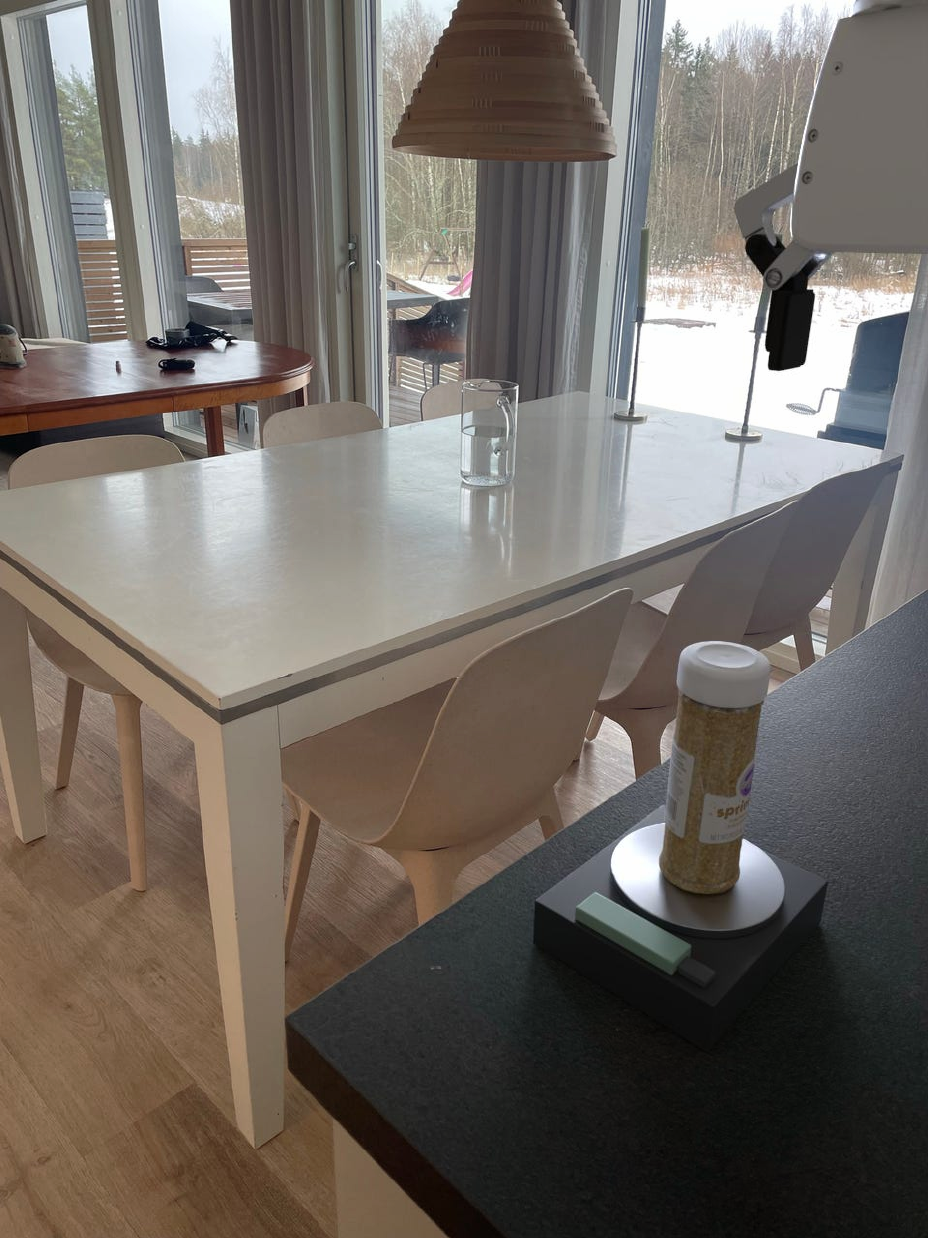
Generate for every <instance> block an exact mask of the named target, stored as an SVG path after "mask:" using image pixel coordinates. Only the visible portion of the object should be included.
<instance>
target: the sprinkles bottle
mask: <svg viewBox="0 0 928 1238" xmlns="http://www.w3.org/2000/svg"><path fill="white" fill-rule="evenodd" d="M771 667H772V665H771V662H770V660H769V659H768V658H767V657H766V656H765V654H763V653H761V651H759V650H756V649H754V648H752V647H750V646H747V645H743V644H740V643H735V642H729V641H718V640H716V641H715V640H710V641H700V642H696V643H693V644H690V645H688V646H686V647H684V649H682V651H681V653H680V654H679V659H678V667H677V673H676V674H677V675H676V686H677V688H678V691H677V695H678V700H677V701H678V702H677V709H676V718H675V727H674V732H673V736H672V741H671V752H670V760H669V761H670V762H669V770H668V778H667V779H668V780H667V787H666V798H665V805H664V806H665V832H664V841H663V850H662V851H661V853H660V857H659V867H660V869H661V871H662V873H663V875H664V876H665V877H666V878H667V879H668V880H669V881H670V882H671V883H673V884H674V885H676V886H678V887H680V888H682V889H683V890H686V891H691V892H694V893H702V894H714V893H721V892H724V891H726V890H727V889H730V888H731V887H733V886H734V885H735V884H736V883H737V882H738V880H739V876H740V867H739V862H740V852H741V847H742V840H743V839H744V833H745V831H746V828H747V827H746V826H747V822H748V821H747V820H748V814H749V806H750V798H751V790H752V786H753V785H752V784H753V777H754V770H755V763H756V760H755V759H756V758H755V754H756V750H757V742H758V733H759V725H760V720H761V713H762V707H763V704H764V702H765V699H767V696H768V692H769V685H770V677H771Z"/></svg>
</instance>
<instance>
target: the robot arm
mask: <svg viewBox="0 0 928 1238" xmlns="http://www.w3.org/2000/svg"><path fill="white" fill-rule="evenodd" d="M805 124H806V125H805V128H804V131H803V132H804V133H803V138H802V142H801V147H800V152H799V157H798V162H797V163H796V164H794V165H792V166H790V167H788V168H787V169H786V170H784V171H782V172H781V173H779V174H777V175H775V176H774V177H771V178H770V179H769V180H767V181H766V182H764V183H762V184H761V185H759V186H756V187H755V188H753V189H752V190H751V191H748V192H747V193H745V194H744V195H741V196H740V197H739V198H738V199H737V200H736V201H735V203H734V206H733V209H734V214H735V218H736V220H737V224H738V226H739V229H740V233H741V237H742V239H744V241H745V246H744V250H745V254H746V255H747V257H748V258H749V260H750V261H751V262H752V264H753V265H754V267H755V268H756V269H757V271H758V272H759V274H760V275H761V276H762V282H763V286H764V287H765V288H766V289H767V290H768V291H771V292H770V293H771V294H770V299H769V300H770V302H769V308H768V317H767V323H766V332H765V340H764V349H765V351H766V352H767V353H768V359H767V369H768V370H769V371H775V372H782V371H787V370H792V369H798V368H800V367H802V366H804V365H805V364H806V361H807V356H808V349H809V342H810V335H811V328H812V321H813V314H814V308H815V300H816V294H815V292H814V289H810V288H808V286H809V281H810V279H812V278H813V276H814V275H815V274H816V273H817V272H818V271H819V270H820V269H821V268H822V267H823V266H824V265H825V264H826V262H828V260H829V259H830V258H831V257H832V256H833V255H834V254H835V253H855V254H856V253H857V254H858V253H859V254H900V255H901V254H903V255H904V254H906V255H907V254H909V255H910V254H911V255H928V0H851V7H850V12H849V16H847V17H842V18H839V19H837V20H836V23H835V25H834V28H833V30H832V33H831V36H830V40H829V42H828V46H827V47H826V51H825V54H824V57H823V60H822V64H821V67H820V70H819V73H818V77H817V80H816V84H815V88H814V91H813V95H812V99H811V102H810V107H809V111H808V115H807V120H806V123H805ZM790 202H791V208H790V236H791V239H792V240H791V242H790V243H789V244H788V245H787V246H785V244H783V242H782V241H781V239H780V238H779V237H778V236H777V235H776V233H775V230H774V224H773V216H774V213H775V212H776V211H777V210H778V209H780V208H782V207H785V205H787V204H789V203H790Z"/></svg>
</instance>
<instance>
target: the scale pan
mask: <svg viewBox="0 0 928 1238" xmlns="http://www.w3.org/2000/svg"><path fill="white" fill-rule="evenodd" d="M664 832H665V823H663V824H656V825H652V826H648V827H645V828H642V829H639V830H637V831H635V832H633V833H631V834H629V835H628V836H626V837H625V838H624V839H623V840H622V841H621V842H620V843H619V844H618V845H617V847H616V848H615V850H614V852H613V855H612V858H611V869H610V874H611V880H612V883H613V885H614V888H615V890H616V891H617V893H618V895H619V896H620V897H621V899H622V900H623V901H624V902H625V903H626V904H627V905H628V906H629V907H630V908H631V909H632V910H633V911H635V912H636V913H637V914H638V915H640V916H641V917H643V918H645V919H646V920H648V921H650V922H652V923H654V924H656V925H658V926H660V927H662V928H665V929H667V930H670V931H673V932H676V933H680V934H683V935H688V936H693V937H700V938H710V939H724V938H735V937H741V936H745V935H748V934H752V933H754V932H757V931H759V930H761V929H763V928H764V927H766V926H768V925H769V924H770V923H771V922H772V921H773V920H775V918H776V917H777V916H778V914H779V913H780V911H781V909H782V907H783V902H784V897H785V884H784V880H783V877H782V874H781V872H780V870H779V869H778V867H777V866H776V864H775V863H774V862H773V861H772V859H771V858H770V857H769V856H768V855H767V854H765V853H764V852H763V851H764V850H762V849H761V848H759V847H758V846H756V845H755V844H754V843H752V842H750V841H748V840H747V839H745V838H743V840H742V847H741V852H740V862H739V867H740V876H739V880H738V882H737V883H736V884H735V885H734V886H733V887H731V888H730V889H727V890H726V891H724V892H721V893H714V894H702V893H694V892H691V891H686V890H683V889H682V888H680V887H678V886H676V885H674V884H673V883H671V882H670V881H669V880H668V879H667V878H666V877H665V876H664V875H663V873H662V871H661V869H660V867H659V857H660V853H661V851H662V850H663V841H664Z"/></svg>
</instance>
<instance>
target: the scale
mask: <svg viewBox="0 0 928 1238" xmlns="http://www.w3.org/2000/svg"><path fill="white" fill-rule="evenodd" d="M665 806H666V805H663V804H662V805H660V806H659V807H657V808H656V809H655V810H654V811H652V812H651V813H649V814H648V815H647V816H646V817H645V818H643V819H641V820H640V821H638V823H636V824H635V825H633V826H632V827H631V828H630V829H628V830H627V831H626V832H624V833H623V834H622V835H620V836H619V837H618V838H617V839H615V840H614V841H612V842H611V843H609V844H608V845H607V846H606V847H605V848H603V849H601V850H600V851H599V852H598V853H596V854H595V855H594V856H592V857H591V858H590V859H588V860H587V861H586V862H584V863H583V864H581V865H580V866H578V868H576V869H575V870H574V871H572V872H571V873H570V874H568V875H567V876H566V877H564V878H563V879H561V881H559V882H557V883H556V884H555V885H554V886H553V887H551V888H550V889H548V890H547V891H546V892H544V893H543V894H542V895H541V896H539V897H538V898H536V899H535V900H534V910H533V911H534V913H533V915H534V916H533V931H532V933H533V935H532V938H533V939H532V943H533V944H534V945H535V946H536V947H538V948H539V949H542V950H543V951H545V952H546V953H547V954H549V955H550V956H552V957H554V958H555V959H557V960H559V961H561V962H562V963H564V964H565V965H567V966H568V967H570V968H571V969H573V970H575V971H576V972H578V973H579V974H581V975H583V976H584V977H586V978H587V979H589V980H590V981H592V982H594V983H596V984H597V985H599V986H600V987H602V988H603V989H605V990H607V991H608V992H610V993H611V994H613V995H614V996H616V997H617V998H619V999H621V1000H622V1001H623V1002H625V1003H627V1004H628V1005H630V1006H632V1007H633V1008H635V1009H636V1010H638V1011H640V1012H641V1013H643V1014H644V1015H646V1016H648V1017H649V1018H651V1019H653V1021H656V1022H657V1023H659V1024H660V1025H662V1026H663V1027H665V1028H667V1029H669V1030H670V1031H672V1032H673V1033H675V1034H676V1035H677V1036H680V1037H681V1038H682V1039H684V1040H686V1041H687V1042H689V1043H691V1044H692V1045H694V1046H695V1047H697V1048H698V1049H699V1050H701V1051H703V1052H705V1053H708V1052H710V1050H712V1048H713V1047H714V1046H715V1045H716V1044H717V1042H718V1041H719V1040H720V1039H721V1038H722V1036H723V1035H724V1034H725V1033H726V1032H727V1031H728V1029H729V1028H730V1027H731V1026H732V1025H733V1024H734V1022H735V1021H736V1020H737V1019H738V1018H739V1017H740V1016H741V1014H742V1013H743V1012H744V1011H745V1010H746V1009H747V1008H748V1007H749V1005H750V1004H751V1003H752V1002H753V1001H754V999H756V997H757V996H758V995H759V994H760V993H761V992H762V990H763V989H764V988H765V987H766V985H767V984H768V983H769V982H770V981H771V980H772V979H773V978H774V977H775V975H776V974H777V973H778V972H779V971H780V970H781V968H782V967H783V966H784V965H785V963H787V961H788V960H789V959H790V958H791V957H792V956H793V954H795V952H796V951H797V950H798V949H799V948H800V947H801V945H802V944H803V943H804V942H805V941H806V939H807V938H808V937H809V936H810V935H811V934H812V933H813V931H814V930H815V929H816V928H817V927H818V926H819V925H820V923H821V922H822V916H823V912H824V905H825V902H826V901H825V900H826V895H827V891H828V885H829V880H828V879H826V878H824V877H822V876H819V875H817V874H815V873H813V872H810V871H808V870H806V869H803V868H801V867H800V866H797V865H795V864H793V863H791V862H789V861H787V860H784V859H782V858H780V857H778V856H775V855H773V854H771V853H769V852H767V851H764V850H762V851H763V852H764V853H765V854H767V855H768V856H769V857H770V858H771V859H772V861H773V862H774V863H775V864H776V866H777V867H778V869H779V870H780V872H781V874H782V877H783V880H784V884H785V897H784V902H783V907H782V909H781V911H780V913H779V914H778V916H777V917H776V918H775V920H773V921H772V922H771V923H770V924H769V925H768V926H766V927H764V928H763V929H761V930H759V931H757V932H754V933H752V934H748V935H745V936H741V937H735V938H724V939H710V938H700V937H693V936H688V935H683V934H680V933H676V932H673V931H670V930H667V929H665V928H662V927H660V926H658V925H656V924H654V923H652V922H650V921H648V920H646V919H645V918H643V917H641V916H640V915H638V914H637V913H636V912H635V911H633V910H632V909H631V908H630V907H629V906H628V905H627V904H626V903H625V902H624V901H623V900H622V899H621V897H620V896H619V895H618V893H617V891H616V890H615V888H614V885H613V883H612V880H611V874H610V869H611V858H612V855H613V852H614V850H615V848H616V847H617V845H618V844H619V843H620V842H621V841H622V840H623V839H624V838H625V837H626V836H628V835H629V834H631V833H633V832H635V831H637V830H639V829H642V828H645V827H648V826H652V825H656V824H663V823H665Z"/></svg>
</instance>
